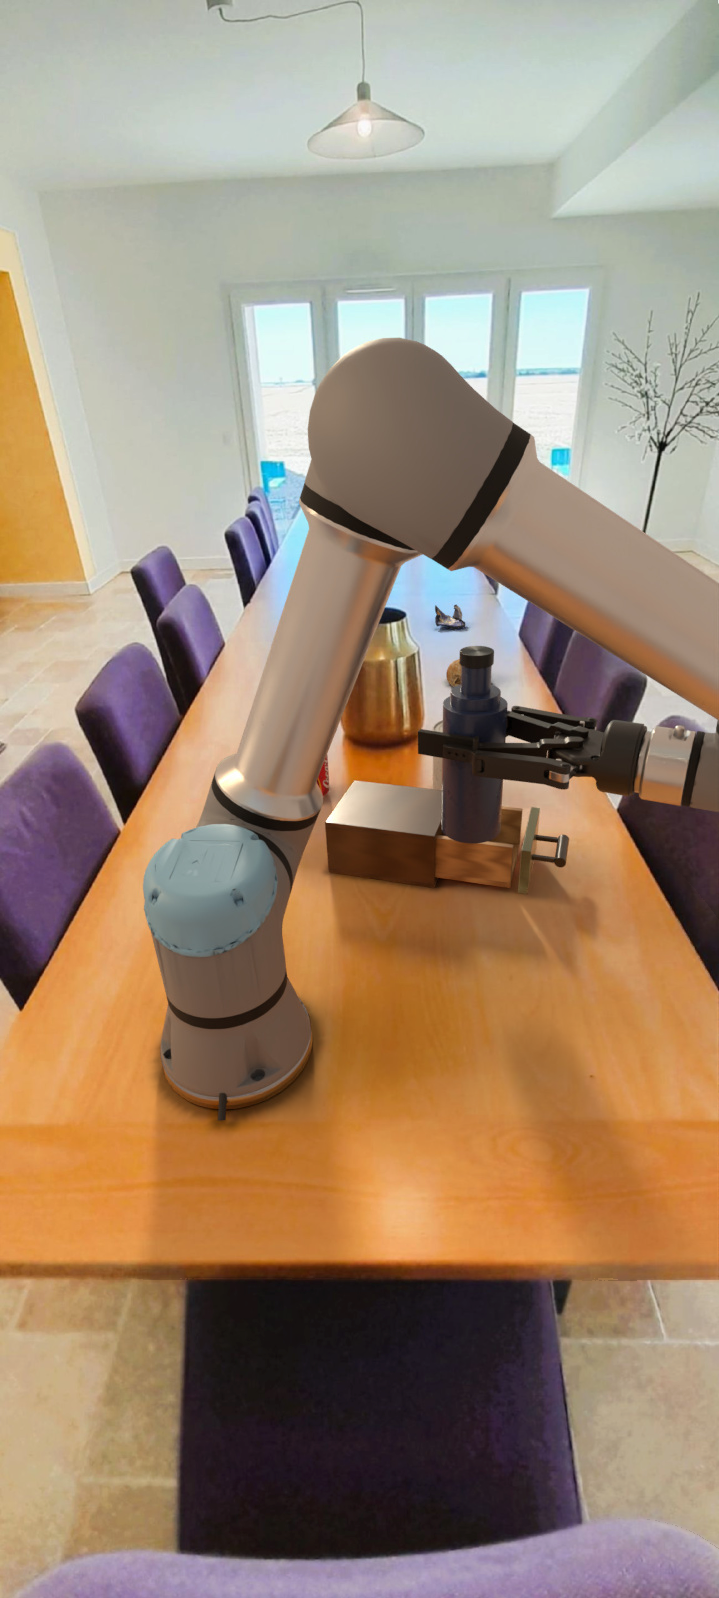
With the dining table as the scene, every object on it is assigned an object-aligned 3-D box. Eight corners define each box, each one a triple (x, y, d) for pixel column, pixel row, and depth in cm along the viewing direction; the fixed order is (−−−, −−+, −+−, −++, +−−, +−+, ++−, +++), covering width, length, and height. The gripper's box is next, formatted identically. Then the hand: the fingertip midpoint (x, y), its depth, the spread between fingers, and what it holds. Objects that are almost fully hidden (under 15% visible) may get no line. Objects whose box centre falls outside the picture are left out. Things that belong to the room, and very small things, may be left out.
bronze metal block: (453, 839, 107) (454, 791, 103) (434, 888, 97) (434, 836, 93) (356, 827, 112) (354, 780, 108) (328, 872, 101) (324, 822, 97)
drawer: (567, 851, 102) (572, 811, 99) (561, 899, 92) (566, 856, 89) (438, 835, 107) (438, 796, 104) (420, 878, 98) (419, 837, 94)
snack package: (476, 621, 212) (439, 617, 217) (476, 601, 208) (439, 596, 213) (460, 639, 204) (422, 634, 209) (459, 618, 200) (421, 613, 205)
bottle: (495, 847, 83) (505, 662, 72) (436, 839, 85) (437, 659, 74) (504, 817, 88) (514, 642, 78) (447, 810, 90) (450, 639, 80)
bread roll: (443, 700, 167) (441, 675, 161) (451, 669, 173) (449, 643, 166) (486, 703, 164) (485, 677, 158) (493, 671, 170) (492, 645, 164)
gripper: (662, 693, 79) (463, 670, 89) (630, 768, 63) (395, 730, 73) (651, 755, 82) (462, 726, 92) (619, 841, 67) (396, 795, 77)
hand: (432, 728), depth 83 cm, fingers closed on bottle, 7 cm apart
